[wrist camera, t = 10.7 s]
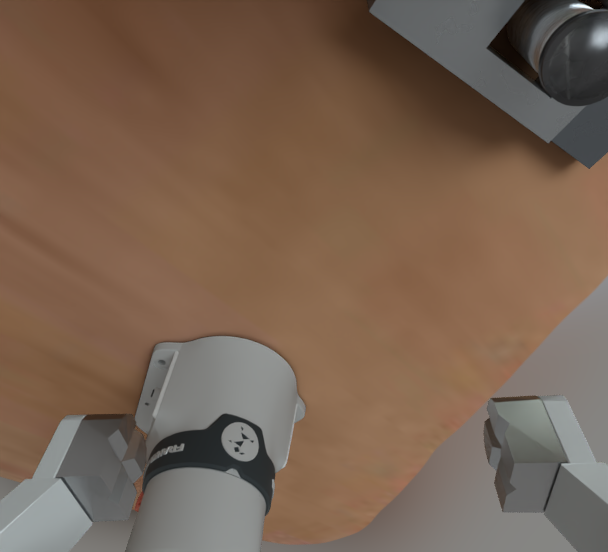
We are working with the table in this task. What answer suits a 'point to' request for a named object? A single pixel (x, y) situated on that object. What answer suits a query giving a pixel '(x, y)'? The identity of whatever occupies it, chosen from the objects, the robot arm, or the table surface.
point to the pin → (564, 48)
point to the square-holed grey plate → (496, 68)
